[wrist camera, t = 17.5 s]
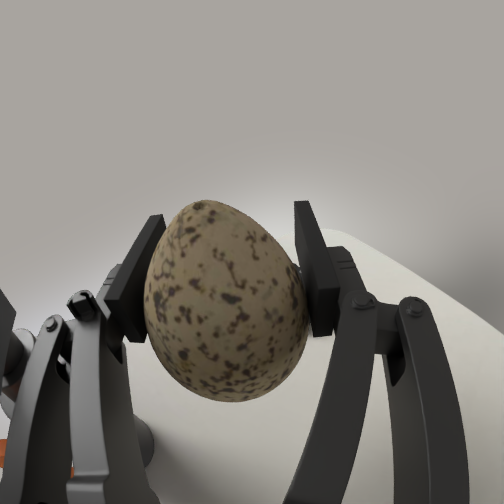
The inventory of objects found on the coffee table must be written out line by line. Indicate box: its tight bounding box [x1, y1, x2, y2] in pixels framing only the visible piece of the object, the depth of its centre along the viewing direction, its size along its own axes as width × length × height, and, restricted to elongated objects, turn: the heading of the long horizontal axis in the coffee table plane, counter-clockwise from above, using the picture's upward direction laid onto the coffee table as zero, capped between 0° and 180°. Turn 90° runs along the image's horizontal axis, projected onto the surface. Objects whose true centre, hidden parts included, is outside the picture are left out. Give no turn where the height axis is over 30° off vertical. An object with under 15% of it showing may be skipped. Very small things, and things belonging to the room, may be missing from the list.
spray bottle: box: [0, 289, 154, 468], centre depth 12 cm, size 7×8×20 cm
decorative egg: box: [144, 200, 309, 402], centre depth 12 cm, size 7×7×10 cm
